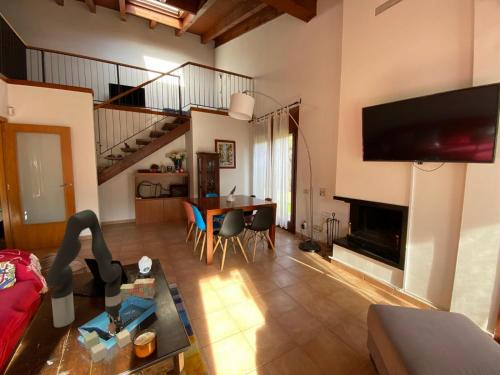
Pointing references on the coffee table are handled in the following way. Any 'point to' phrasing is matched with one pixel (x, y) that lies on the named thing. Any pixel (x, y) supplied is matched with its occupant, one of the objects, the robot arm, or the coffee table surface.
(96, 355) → the beige cube
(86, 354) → the coffee table surface
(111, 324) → the terracotta cube
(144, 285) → the stack of blocks
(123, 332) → the cream cube
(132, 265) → the coffee table surface
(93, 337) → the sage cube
